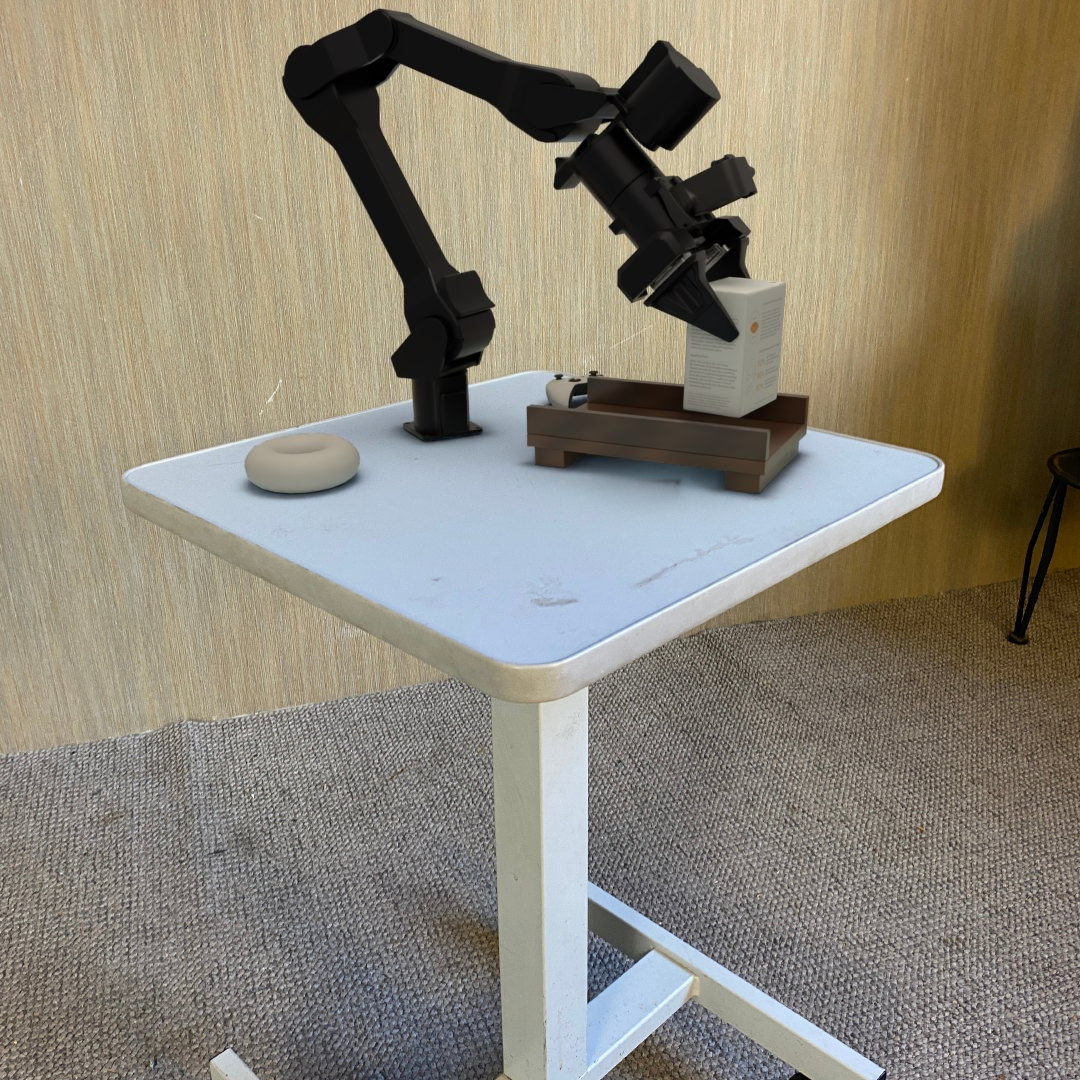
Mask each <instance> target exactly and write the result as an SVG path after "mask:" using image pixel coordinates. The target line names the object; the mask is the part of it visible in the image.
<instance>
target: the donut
mask: <svg viewBox="0 0 1080 1080" xmlns="http://www.w3.org/2000/svg"><path fill="white" fill-rule="evenodd" d="M243 461H244V464H243V467H244V471H245V474H246V476H247V478H248V480H249V481H250V482H251V483H253V484H254V485H255V486H257V487H258V488H260V489H262V490H266V491H269V492H274V493H281V494H304V493H307V494H308V493H313V492H314V493H315V492H320V491H325V490H328V489H332V488H335V487H337V486H340V485H342V484H344V483H346V482H348V481H350V480H351V479H352V478H353V477H354V476H355V475H356V473H357V471H358V470H359V466H360V463H361V457H360V452H359V451H358V449H357V447H356V446H355V444H353V443H352V442H351V441H350V440H349V439H347V438H344V437H342V436H340V435H335V434H330V433H319V432H309V433H307V432H306V433H294V434H293V433H292V434H285V435H281V436H276V437H273V438H269V439H267V440H264V441H262V442H260V443H258V444H256V445H254V446H253V447H252V448H250V451H249V452H248V453H247V455H246V456H245V459H244V460H243Z"/></svg>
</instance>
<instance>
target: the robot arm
mask: <svg viewBox="0 0 1080 1080" xmlns="http://www.w3.org/2000/svg"><path fill="white" fill-rule="evenodd" d="M671 43H672V42H670V41H668V40H662V39H657V40H656V41H655V42H654V44H653V45H652V46H651V47H650V48H649V50H648V51H647V53H646V54H645V57H644V59H643V60H642V61H641V63H640V64H639V65H638V66H637V67H636V69H634V71H633V72H632V73H631V75H630V76H629V77H628V78H627V80H626V81H625V82H623V84H622V85H621V86H620V87H619V88H618V87H608V86H607V87H606V86H601V85H600V83H599V82H598V81H597V79H595V78H594V77H592V76H591V75H589V74H587V73H584V72H580V71H579V72H578V71H573V70H567V69H564V68H563V69H562V68H557V67H551V66H545V65H539V64H533V63H527V62H522V61H517V60H514V59H512V58H509V57H507V56H504V55H502V54H500V53H497V52H495V51H492V50H490V49H488V48H485V47H483V46H480V45H479V44H476V43H473V42H470V41H468V40H466V39H464V38H461V37H459V36H458V35H457V36H456V35H454V34H452V33H449V32H447V31H445V30H443V29H440V28H437V27H434V26H433V25H431V24H428V23H425V22H424V21H421V20H418V19H417V18H415V17H414V16H413V15H412V14H411V13H410V12H405V11H399V10H392V9H385V8H381V7H380V8H375V9H373V10H372V11H370V12H368V13H367V14H365V15H364V16H362V17H361V18H360V19H358V20H356V22H354V23H352V24H350V25H347V26H344V27H342V28H341V29H338V30H336V31H334V32H331V33H329V34H326V35H325V36H322V37H320V38H319V39H317V40H316V41H314V42H313V43H311V44H302V45H301V44H300V45H298V46H297V47H295V48H293V49H292V51H291V52H290V53H289V54H288V56H287V59H286V61H285V64H284V68H283V75H282V76H281V81H282V82H281V83H282V88H283V91H284V93H285V96H286V98H287V99H288V100H289V102H290V103H291V104H292V106H293V108H294V109H295V111H296V112H297V113H298V114H299V116H300V117H301V119H302V121H304V123H305V125H306V126H307V127H309V128H310V129H311V130H312V131H314V132H315V133H316V134H317V136H320V138H322V139H323V140H324V141H325V142H326V143H327V144H328V145H330V147H332V149H333V150H334V151H335V152H336V155H337V156H338V159H339V160H340V163H341V164H342V166H343V168H344V170H345V173H346V174H347V176H348V178H349V181H350V182H351V183H352V187H353V188H354V190H355V192H356V194H357V196H358V198H359V199H360V202H361V204H362V206H363V208H364V209H365V211H366V214H367V215H368V217H369V219H370V221H371V223H372V225H373V227H374V229H375V232H376V233H377V235H378V237H379V239H380V242H381V243H382V244H383V245H382V246H383V247H384V249H385V251H386V253H387V255H388V256H389V259H390V261H391V262H392V264H393V266H394V269H395V270H396V272H397V274H398V276H399V278H400V280H401V283H402V287H403V288H402V289H403V290H402V291H403V316H404V319H405V322H406V325H407V328H408V330H409V333H410V334H408V336H407V337H406V338H405V339H404V341H402V343H400V345H399V346H398V347H397V348H396V350H395V351H394V352H393V353H392V355H391V356H390V362H391V365H392V368H393V371H394V373H395V375H396V378H398V379H408V380H411V381H410V382H411V396H412V411H413V413H412V414H413V420H412V421H406V422H405V421H404V422H402V428H403V429H404V430H405V431H407V432H409V433H411V434H412V435H413V436H415V437H417V438H419V439H420V440H421V441H426V442H428V441H429V442H430V441H435V440H436V441H437V440H442V439H449V438H450V439H451V438H456V437H457V438H458V437H463V436H470V435H476V434H482V433H483V432H484V428H483V426H481V425H479V424H477V423H475V422H473V421H471V415H470V391H469V370H468V369H470V368H473V367H478V366H480V365H481V362H482V358H483V355H484V353H485V349H486V348H487V347H488V346H490V343H491V342H492V340H493V337H494V334H495V329H496V327H497V326H496V324H497V323H496V318H495V315H494V313H493V311H492V309H493V308H496V304H495V302H494V301H492V300H491V299H490V298H489V296H488V294H487V293H486V291H485V289H484V286H483V283H482V279H481V276H480V275H479V273H478V272H477V271H476V270H475V269H472V270H467V271H463V272H460V271H459V270H458V269H456V268H455V267H454V266H453V265H452V264H451V263H450V262H449V260H448V259H447V258H446V256H445V254H444V252H443V249H442V247H441V246H440V243H439V242H438V240H437V238H436V236H435V234H434V232H433V231H432V228H431V226H430V224H429V221H428V220H427V218H426V216H425V214H424V212H423V210H422V209H421V206H420V204H419V202H418V200H417V198H416V197H415V194H414V192H413V191H412V188H411V186H410V185H409V183H408V181H407V179H406V176H405V174H404V172H403V171H402V168H401V167H400V165H399V163H398V161H397V159H396V157H395V154H394V153H393V151H392V148H391V146H390V144H389V143H388V140H387V139H386V137H385V135H384V133H383V131H382V128H381V99H380V98H381V97H380V94H379V92H378V89H377V88H379V87H380V86H382V85H383V84H385V83H386V82H387V81H389V80H390V79H391V78H392V76H393V75H394V73H395V72H396V71H397V70H398V68H399V67H400V66H401V65H402V66H405V67H407V68H408V69H411V70H413V71H416V72H418V73H420V74H423V75H425V76H428V77H430V78H432V79H435V80H437V81H439V82H441V83H444V84H446V85H448V86H450V87H453V88H455V89H457V90H459V91H462V92H464V93H465V94H468V95H470V96H473V97H475V98H477V99H480V100H482V101H485V102H486V103H488V104H489V105H491V106H492V107H493V108H494V109H496V110H497V111H498V112H499V113H500V114H501V115H502V117H504V119H505V120H506V121H507V122H509V123H510V124H511V125H513V126H515V128H518V129H519V130H520V131H522V132H523V133H524V134H526V135H527V136H529V137H530V138H532V139H533V140H535V141H537V142H540V143H544V144H557V143H558V144H560V143H580V144H579V145H578V146H577V147H576V148H575V149H574V151H572V153H571V154H570V155H569V156H556V157H554V164H555V165H554V166H555V171H554V176H553V183H552V186H553V189H554V190H556V191H564V190H570V189H575V188H577V187H578V185H579V184H582V185H583V186H584V188H585V189H586V190H587V191H588V192H589V194H590V195H591V196H592V197H593V199H594V200H595V201H596V202H597V203H598V205H599V206H600V207H601V208H602V209H603V210H604V212H605V213H606V214H607V215H608V216H609V217H610V219H611V220H612V222H611V223H610V224H609V225H608V226H607V227H608V229H609V230H610V231H611V232H612V234H613V235H614V236H620V235H625V237H626V238H627V239H628V240H629V241H630V243H631V244H632V245H633V246H634V247H635V249H636V250H635V251H634V252H633V253H631V255H630V256H629V257H628V258H627V259H626V260H625V261H624V262H623V263H622V264H621V265H620V266H619V267H618V269H616V270H617V271H616V273H617V274H616V287H617V288H618V289H619V290H620V292H621V293H622V294H623V295H624V297H625V298H626V299H627V300H628V301H629V302H630V304H634V303H637V302H639V301H642V300H644V299H645V298H646V299H645V300H644V301H643V303H642V304H643V305H644V306H645V307H646V308H653V309H655V310H657V311H659V312H662V313H664V314H667V315H669V316H671V317H672V318H676V319H678V320H680V321H682V322H684V323H686V324H687V323H689V324H691V325H693V326H695V327H697V328H699V329H701V330H704V331H706V332H708V333H710V334H712V335H714V336H716V337H718V338H720V339H722V340H724V341H726V342H729V343H730V342H732V341H734V340H735V339H736V338H737V337H738V336H739V331H738V329H737V328H736V326H735V324H734V322H733V321H732V319H731V317H730V316H729V314H728V312H727V311H726V309H725V308H724V306H723V305H722V303H721V301H720V300H719V298H718V297H717V295H716V294H715V292H714V290H713V289H712V287H711V286H710V284H709V283H710V282H713V281H717V280H721V279H724V278H728V277H734V278H746V279H752V278H751V275H750V273H749V271H748V268H747V266H746V257H747V251H748V246H749V245H750V237H749V236H750V234H751V232H752V230H751V228H750V227H749V226H748V225H747V224H746V223H745V222H744V220H742V218H741V217H740V216H739V215H722V216H716V215H715V214H714V213H713V212H714V211H717V210H719V209H721V208H723V207H726V206H728V205H730V204H732V203H735V202H737V201H738V200H740V199H744V200H746V199H749V198H751V197H753V196H755V195H757V194H758V193H759V191H758V188H757V185H756V183H755V180H754V177H755V175H756V169H755V168H754V167H753V166H750V164H749V163H748V160H747V157H746V156H735V155H734V154H733V153H726V154H724V155H723V157H721V158H719V159H715V160H712V161H711V162H710V167H707V168H705V169H704V170H702V171H699V172H698V173H695V174H693V175H692V176H690V177H688V178H686V179H684V180H683V178H682V177H681V176H679V175H673V174H672V175H665V173H664V172H663V171H662V170H661V168H660V167H659V166H658V165H657V164H656V163H655V162H654V160H653V159H652V158H651V157H650V156H649V154H648V153H647V152H646V151H645V149H647V150H648V151H650V152H652V153H655V152H657V151H658V150H659V149H660V148H661V149H664V150H665V151H668V152H672V151H674V150H675V149H676V148H677V147H678V146H679V144H680V143H681V142H682V141H683V140H684V139H685V138H686V137H687V136H688V135H689V134H690V133H691V132H692V130H693V129H694V128H696V126H697V125H698V124H699V123H700V122H701V120H703V118H704V117H706V116H707V114H708V113H709V112H710V111H711V110H712V109H713V108H714V107H715V105H717V103H718V102H719V101H720V100H721V99H722V96H721V93H720V90H719V88H718V87H717V85H716V84H715V82H714V81H713V80H712V79H711V77H710V76H709V74H708V73H707V72H706V71H705V70H704V69H703V68H702V67H697V66H696V65H695V63H694V62H692V61H691V59H689V58H688V57H687V56H685V55H684V54H683V53H681V52H679V50H677V49H676V48H675V47H674V46H673V45H672V44H671ZM605 124H607V126H606V127H605V128H604V129H602V131H601V132H600V133H599V134H598V133H596V132H597V131H598V130H599V128H600V126H601V125H605ZM643 148H645V149H643ZM649 287H650V288H651V289H652V290H653V292H652V293H651V294H650V295H649V293H648V288H649Z"/></svg>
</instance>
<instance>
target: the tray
mask: <svg viewBox="0 0 1080 1080" xmlns="http://www.w3.org/2000/svg"><path fill="white" fill-rule="evenodd" d="M683 401H684V383H675V382H674V383H672V382H663V381H653V380H641V379H640V380H639V379H630V378H620V377H619V378H618V377H609V376H604V377H598V376H590V377H588V378H587V395H586V402H585V403H583V404H581V405H579V406H578V407H575V408H572V407H571V408H562V407H553V406H552V405H541V404H533V403H531V404H529V405H527V406H526V409H525V410H526V445H527V447H530V448H531V447H533V448H534V465H538V466H546V467H554V468H561V469H562V468H563V469H564V468H567V467H568V466H569V465H572V464H573V463H574V462H576V461H578V460H579V459H581V458H582V457H584V456H586V455H595V456H603V457H612V458H619V459H628V460H636V461H643V462H652V463H658V464H659V463H660V464H667V465H674V466H675V465H676V466H681V467H682V466H683V467H689V468H690V467H691V468H698V469H706V470H714V471H722V472H724V491H725V490H726V491H732V492H733V491H734V492H741V493H749V494H757V495H759V494H761V492H763V490H764V489H765V488H767V486H768V485H769V484H770V483H771V482H772V481H773V480H774V479H775V478H777V476H778V475H779V474H780V473H781V472H782V471H783V470H784V469H785V468H786V467H787V466H788V464H790V463H791V461H793V460H794V458H795V457H797V455H798V454H799V447H800V441H802V439H804V437H805V436H807V430H808V417H809V404H810V394H809V395H807V394H797V393H786V392H784V393H783V392H777V398H776V399H775V400H773V401H771V402H769V403H767V404H765V405H764V406H762V407H760V408H758V409H756V410H754V411H752V412H750V413H748V414H746V415H744V416H742V417H740V418H735V417H728V416H722V415H716V414H711V413H704V412H698V411H691V410H685V409H684V408H683Z"/></svg>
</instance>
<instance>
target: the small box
mask: <svg viewBox="0 0 1080 1080" xmlns="http://www.w3.org/2000/svg"><path fill="white" fill-rule="evenodd" d="M709 284H710V286H711V287H712V289H713V290H714V292H715V294H716V295H717V297H718V298H719V300H720V301H721V303H722V305H723V306H724V308H725V309H726V311H727V312H728V314H729V316H730V317H731V319H732V321H733V322H734V324H735V326H736V328H737V329H738V331H739V336H738V337H737V338H736V339H735V340H734V341H732V342H730V343H729V342H726V341H724V340H722V339H720V338H718V337H716V336H714V335H712V334H710V333H708V332H706V331H704V330H701V329H699V328H697V327H695V326H693V325H691V324H689V323H687V322H686V337H685V338H686V339H685V340H686V341H685V358H684V383H683V384H684V401H683V408H684V409H685V410H691V411H698V412H704V413H711V414H716V415H722V416H728V417H735V418H740V417H742V416H744V415H746V414H748V413H750V412H752V411H754V410H756V409H758V408H760V407H762V406H764V405H765V404H767V403H769V402H771V401H773V400H775V399H776V398H777V393H778V388H779V377H780V367H781V366H780V364H781V353H782V341H783V329H784V316H785V306H786V305H785V304H786V292H787V291H786V290H787V282H784V281H777V280H767V279H755V278H751V279H746V278H734V277H728V278H724V279H721V280H717V281H713V282H710V283H709Z"/></svg>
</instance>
